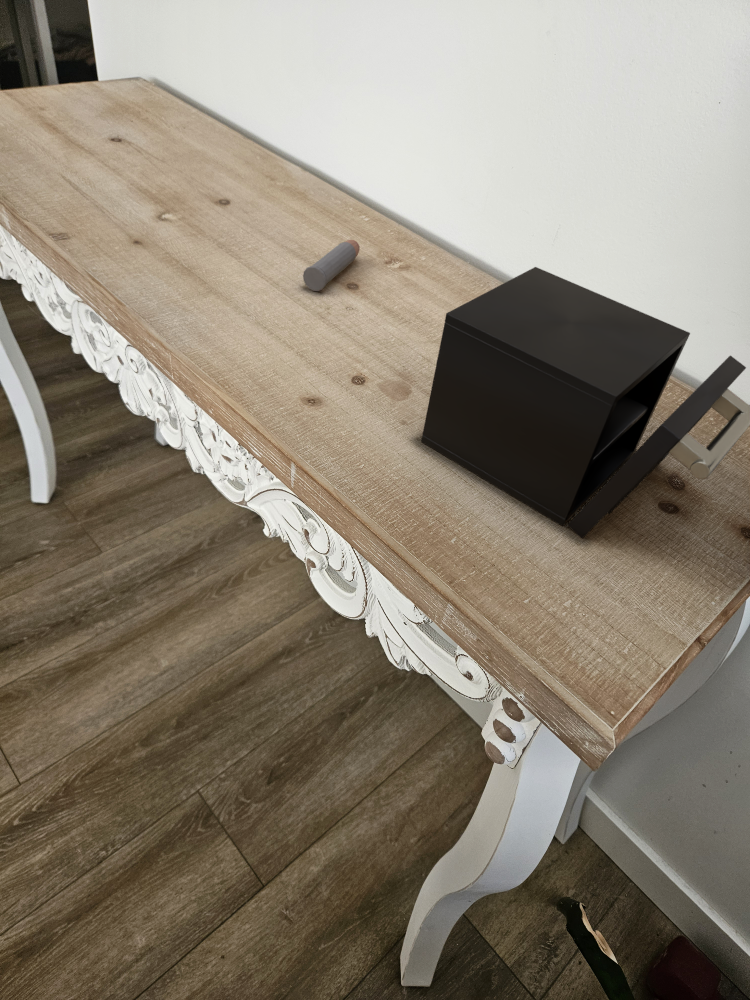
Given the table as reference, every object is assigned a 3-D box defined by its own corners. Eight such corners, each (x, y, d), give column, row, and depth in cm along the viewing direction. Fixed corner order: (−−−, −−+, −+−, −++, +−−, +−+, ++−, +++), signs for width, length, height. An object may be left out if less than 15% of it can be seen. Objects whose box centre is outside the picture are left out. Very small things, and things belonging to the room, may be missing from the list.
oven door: (678, 487, 65) (780, 392, 56) (612, 566, 57) (718, 470, 47) (637, 453, 66) (730, 354, 57) (566, 525, 58) (661, 424, 48)
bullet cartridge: (324, 294, 83) (326, 270, 81) (301, 287, 84) (302, 263, 82) (362, 261, 91) (365, 238, 89) (341, 254, 92) (343, 232, 90)
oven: (633, 454, 67) (690, 332, 58) (562, 526, 58) (616, 396, 49) (502, 385, 73) (535, 266, 64) (420, 441, 64) (446, 312, 56)
